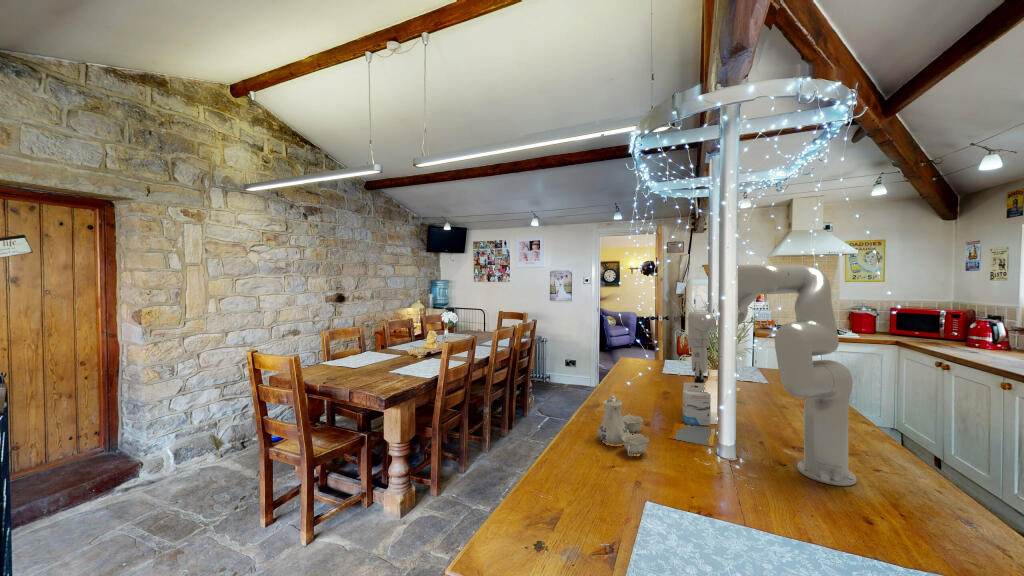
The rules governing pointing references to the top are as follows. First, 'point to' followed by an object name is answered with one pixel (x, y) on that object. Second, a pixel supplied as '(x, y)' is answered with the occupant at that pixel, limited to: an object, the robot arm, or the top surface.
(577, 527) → the top surface
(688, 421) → the ink box
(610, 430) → the chinaware
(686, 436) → the mat
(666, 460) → the top surface
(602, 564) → the top surface
